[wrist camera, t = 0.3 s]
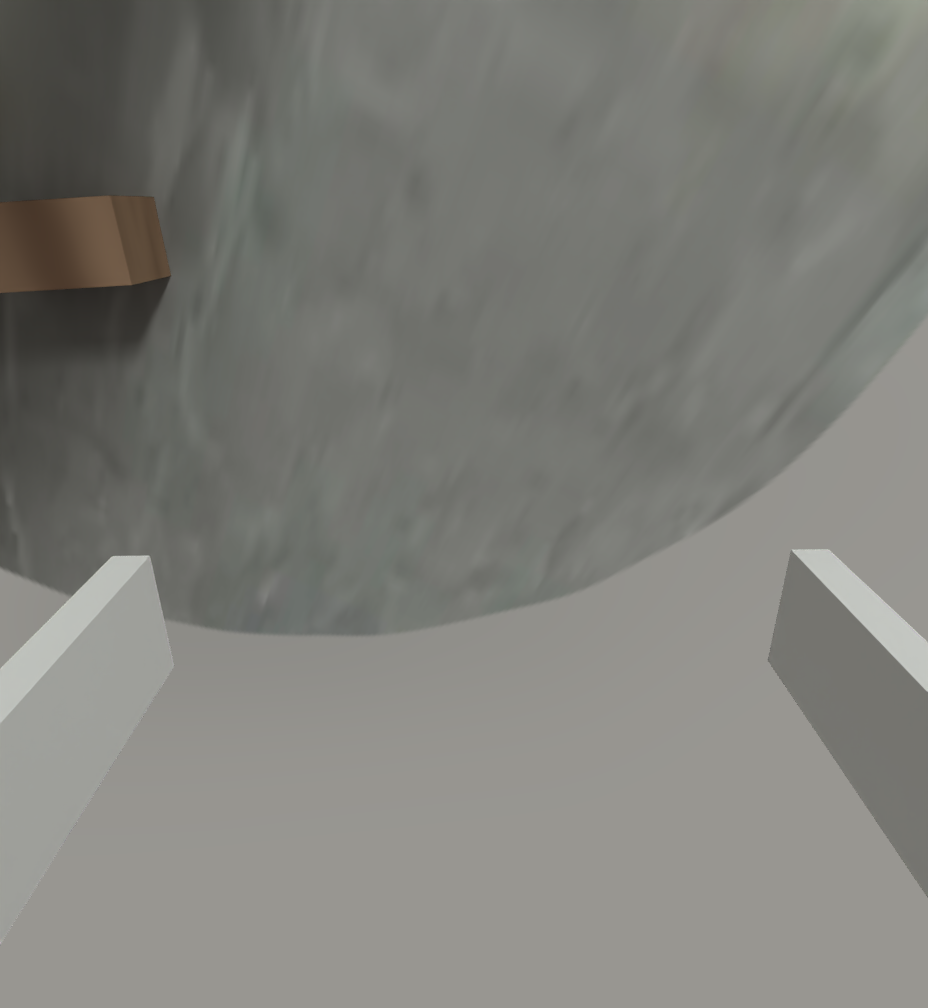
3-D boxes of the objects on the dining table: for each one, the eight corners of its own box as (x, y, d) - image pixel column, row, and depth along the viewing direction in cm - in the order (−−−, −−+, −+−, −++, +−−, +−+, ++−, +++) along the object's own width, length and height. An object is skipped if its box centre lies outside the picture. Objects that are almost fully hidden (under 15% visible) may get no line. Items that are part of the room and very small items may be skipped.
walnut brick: (30, 284, 38) (-29, 294, 33) (6, 206, 36) (-59, 206, 32) (171, 275, 38) (131, 285, 33) (154, 196, 36) (110, 195, 31)
